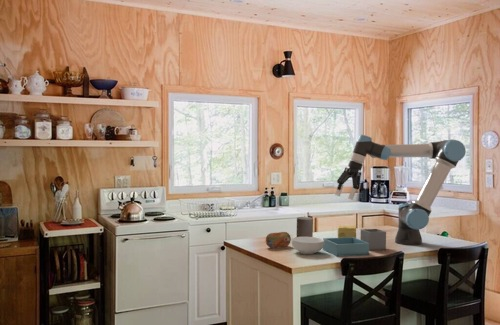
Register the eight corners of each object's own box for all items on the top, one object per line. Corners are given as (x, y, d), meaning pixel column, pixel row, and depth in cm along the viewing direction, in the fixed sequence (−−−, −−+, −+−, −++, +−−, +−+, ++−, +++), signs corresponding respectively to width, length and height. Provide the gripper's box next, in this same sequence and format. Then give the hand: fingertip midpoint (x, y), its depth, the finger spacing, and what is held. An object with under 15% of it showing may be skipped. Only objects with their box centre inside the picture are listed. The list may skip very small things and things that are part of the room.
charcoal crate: (376, 246, 272) (376, 228, 272) (385, 250, 262) (386, 231, 262) (360, 247, 269) (360, 229, 269) (369, 250, 260) (369, 232, 259)
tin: (267, 248, 263) (267, 233, 263) (264, 247, 266) (264, 232, 266) (291, 246, 270) (291, 231, 270) (288, 245, 273) (288, 230, 273)
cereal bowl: (301, 257, 243) (301, 243, 243) (286, 250, 258) (286, 237, 258) (330, 254, 250) (330, 240, 250) (313, 248, 265) (313, 235, 265)
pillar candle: (293, 241, 286) (293, 215, 286) (302, 238, 294) (302, 214, 293) (306, 243, 280) (307, 217, 279) (315, 240, 288) (316, 215, 287)
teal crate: (353, 247, 267) (353, 237, 267) (368, 254, 250) (368, 243, 250) (322, 249, 263) (322, 238, 263) (336, 256, 245) (336, 244, 245)
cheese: (356, 246, 273) (356, 228, 273) (337, 245, 275) (337, 227, 275) (356, 242, 283) (356, 225, 283) (337, 241, 286) (337, 224, 285)
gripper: (362, 164, 283) (350, 198, 284) (339, 155, 265) (326, 191, 266) (373, 167, 278) (360, 202, 279) (350, 159, 260) (337, 196, 261)
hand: (343, 197), depth 273 cm, fingers open, 13 cm apart
